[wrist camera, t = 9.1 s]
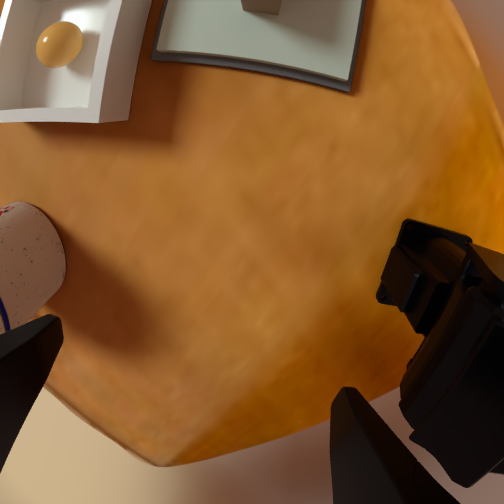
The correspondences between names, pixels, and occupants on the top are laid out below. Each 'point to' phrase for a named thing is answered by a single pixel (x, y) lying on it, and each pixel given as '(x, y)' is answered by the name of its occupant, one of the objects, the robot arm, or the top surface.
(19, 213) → the teacup with lid
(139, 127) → the top surface
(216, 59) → the mat
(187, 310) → the top surface
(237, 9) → the lid
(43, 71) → the dish
